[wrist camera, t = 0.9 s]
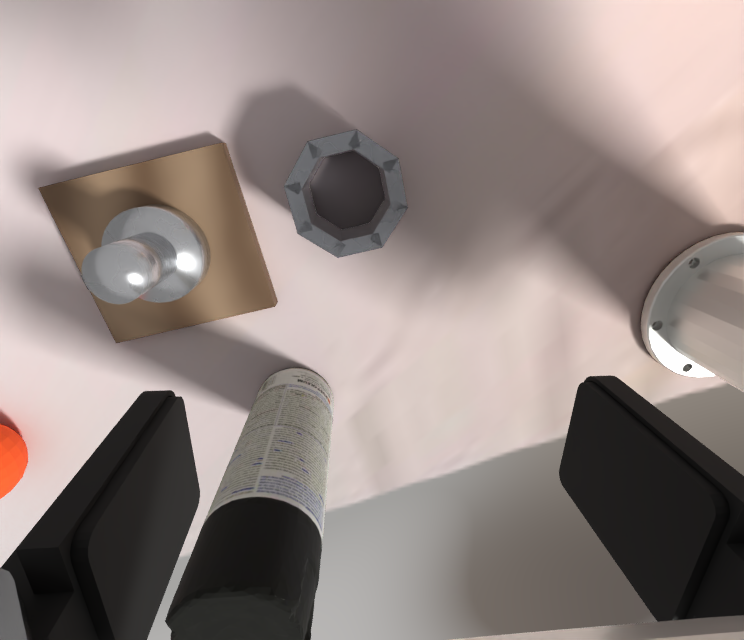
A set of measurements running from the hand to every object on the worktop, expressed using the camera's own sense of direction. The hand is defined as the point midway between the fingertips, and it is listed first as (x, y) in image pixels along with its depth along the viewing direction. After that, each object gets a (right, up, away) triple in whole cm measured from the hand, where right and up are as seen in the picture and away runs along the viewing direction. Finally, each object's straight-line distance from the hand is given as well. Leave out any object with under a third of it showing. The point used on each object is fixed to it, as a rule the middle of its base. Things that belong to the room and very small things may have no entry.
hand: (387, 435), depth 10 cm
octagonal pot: (-2, +12, +21) cm, 24 cm away
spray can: (-7, -4, +27) cm, 28 cm away
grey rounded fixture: (-15, +8, +20) cm, 27 cm away
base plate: (-16, +8, +22) cm, 28 cm away
